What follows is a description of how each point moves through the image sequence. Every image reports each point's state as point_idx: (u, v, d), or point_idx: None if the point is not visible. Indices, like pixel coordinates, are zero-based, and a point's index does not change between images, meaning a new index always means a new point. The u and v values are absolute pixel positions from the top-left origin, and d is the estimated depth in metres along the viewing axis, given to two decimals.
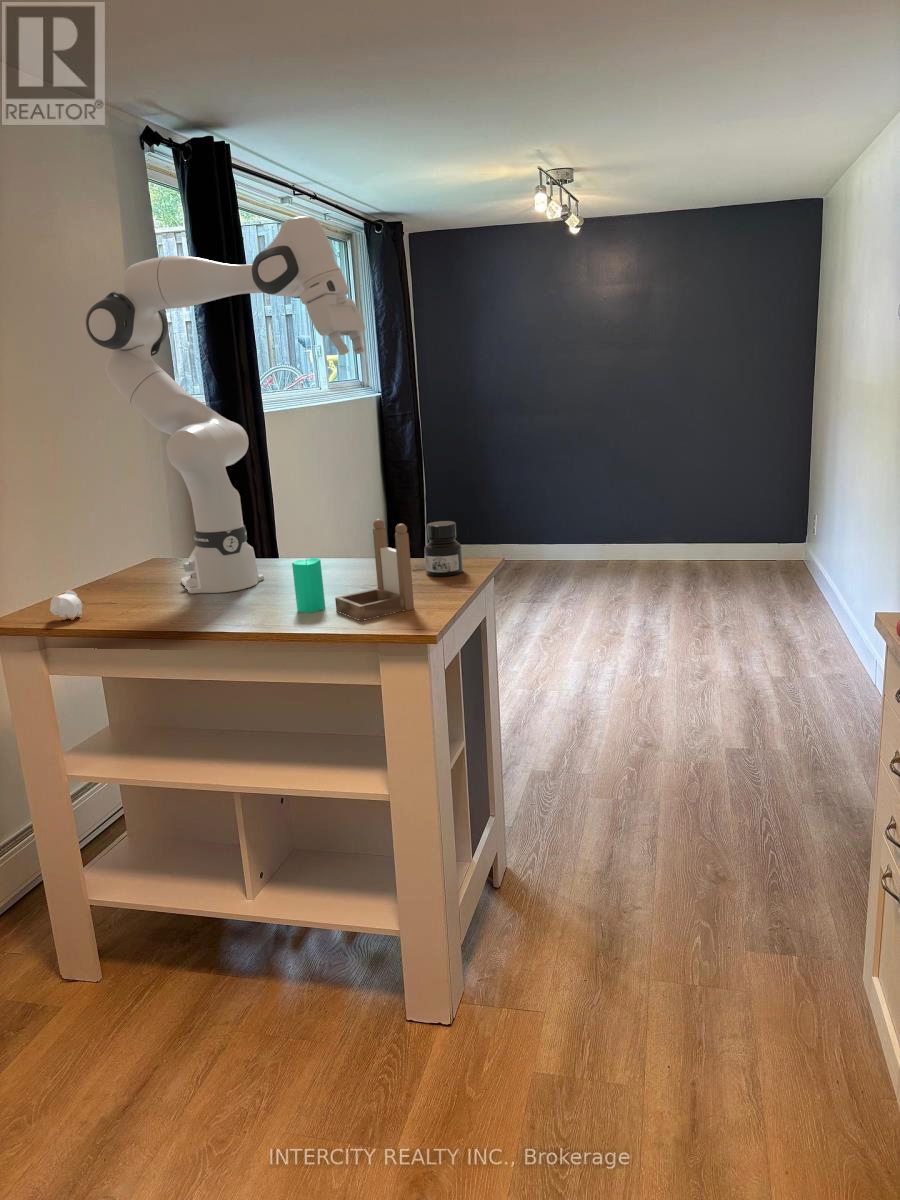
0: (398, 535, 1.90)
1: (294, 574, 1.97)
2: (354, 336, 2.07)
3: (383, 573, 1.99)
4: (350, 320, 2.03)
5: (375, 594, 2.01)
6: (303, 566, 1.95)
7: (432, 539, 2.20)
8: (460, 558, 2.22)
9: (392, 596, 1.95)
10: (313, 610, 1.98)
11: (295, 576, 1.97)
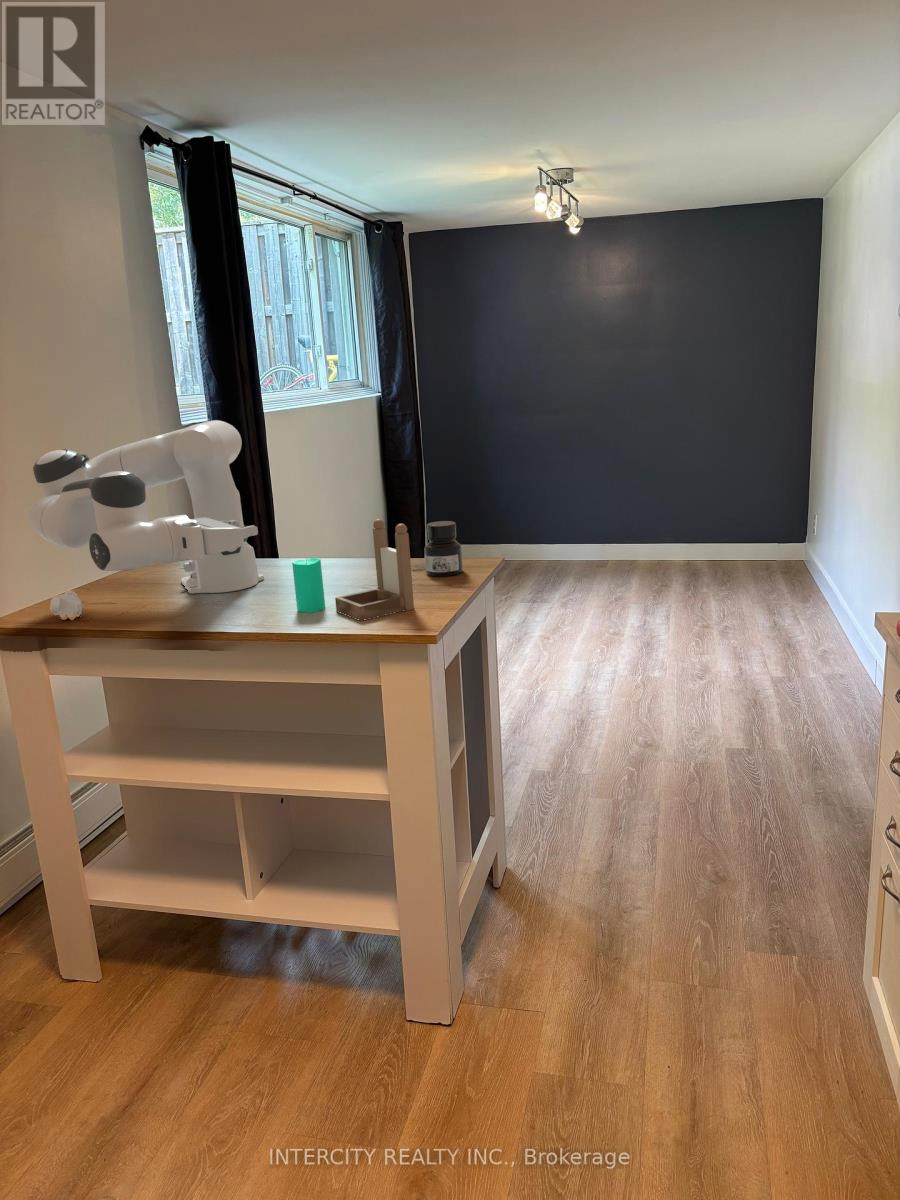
0: (398, 535, 1.90)
1: (294, 574, 1.97)
2: None
3: (383, 573, 1.99)
4: (210, 522, 1.86)
5: (375, 594, 2.01)
6: (303, 566, 1.95)
7: (432, 539, 2.20)
8: (460, 558, 2.22)
9: (392, 596, 1.95)
10: (313, 610, 1.98)
11: (295, 576, 1.97)
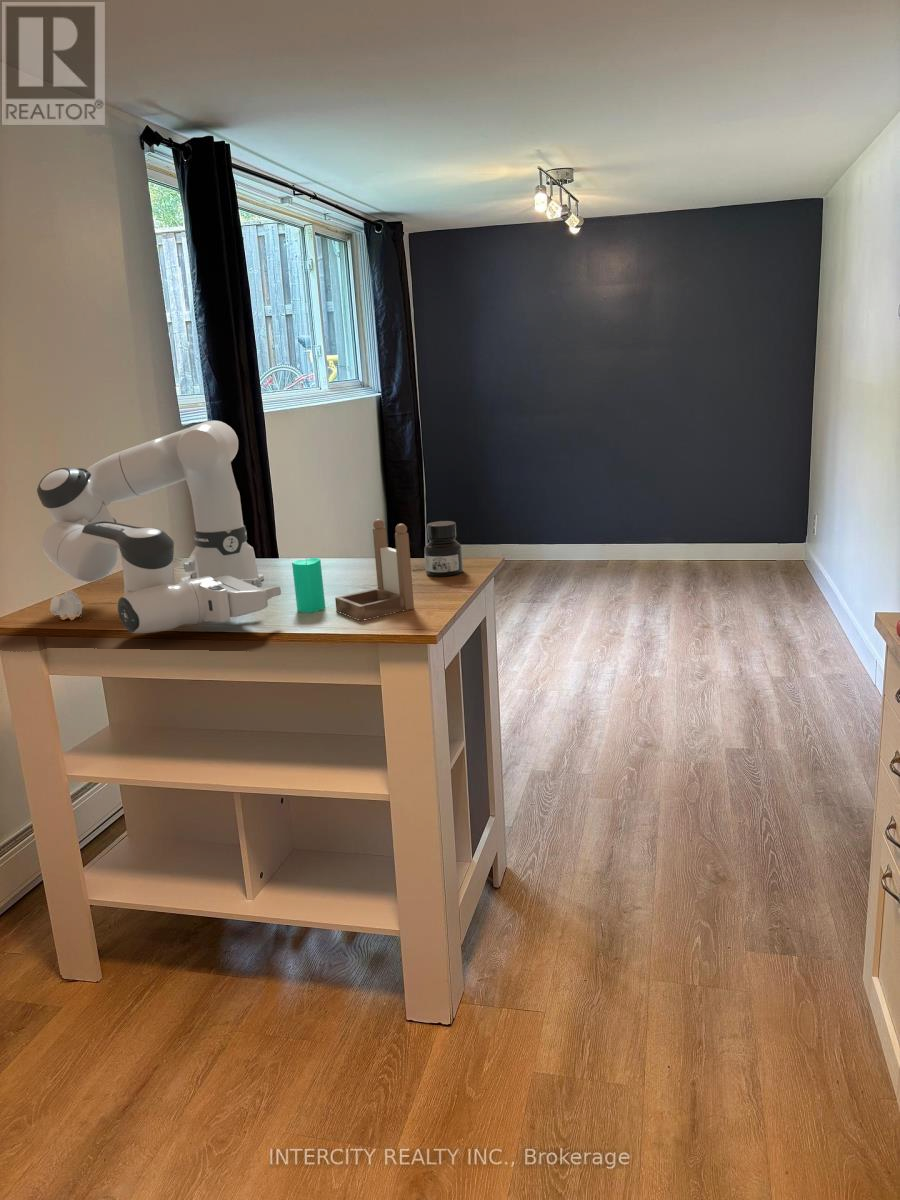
0: (398, 535, 1.90)
1: (294, 574, 1.97)
2: None
3: (383, 573, 1.99)
4: (234, 582, 1.91)
5: (375, 594, 2.01)
6: (303, 566, 1.95)
7: (432, 539, 2.20)
8: (460, 558, 2.22)
9: (392, 596, 1.95)
10: (313, 610, 1.98)
11: (295, 576, 1.97)
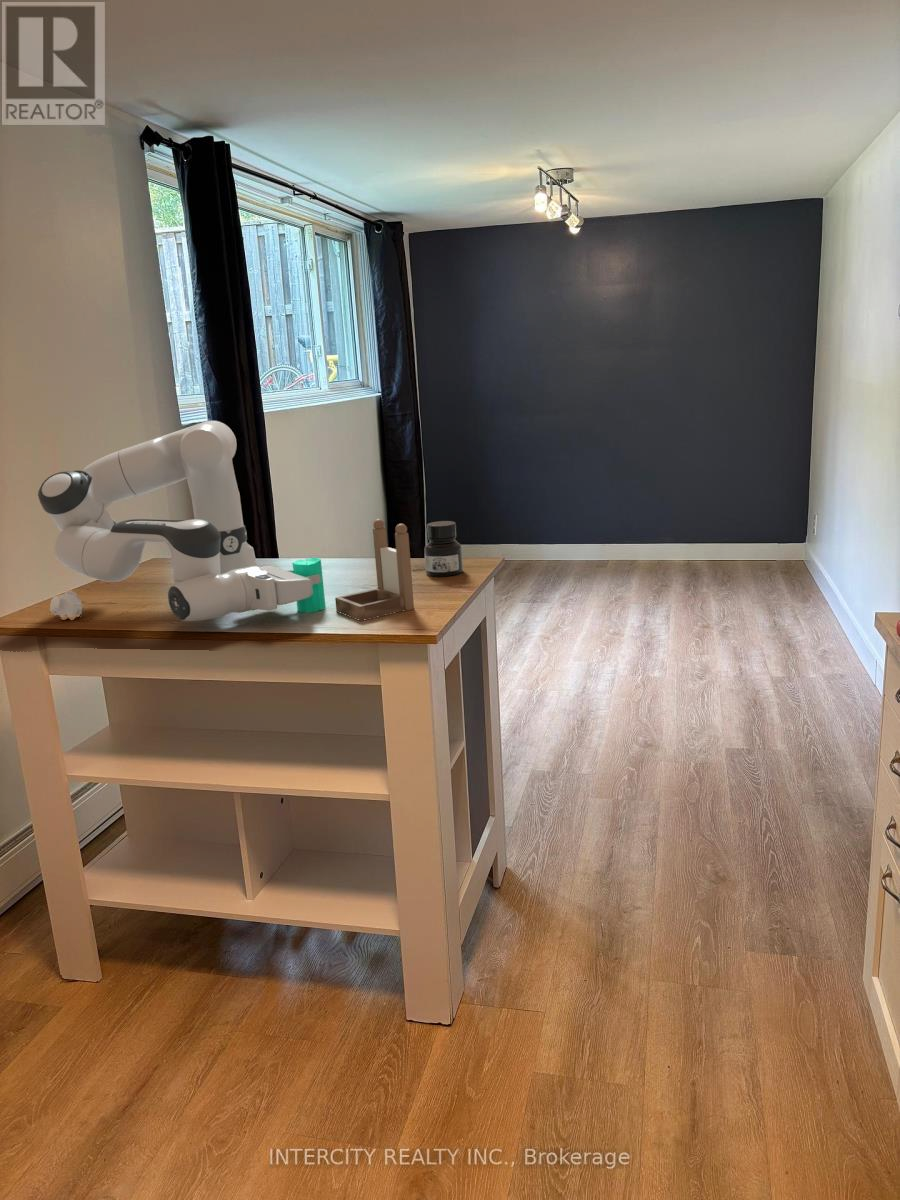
0: (398, 535, 1.90)
1: None
2: None
3: (383, 573, 1.99)
4: (278, 571, 1.97)
5: (375, 594, 2.01)
6: (303, 566, 1.95)
7: (432, 539, 2.20)
8: (460, 558, 2.22)
9: (392, 596, 1.95)
10: (313, 610, 1.98)
11: None
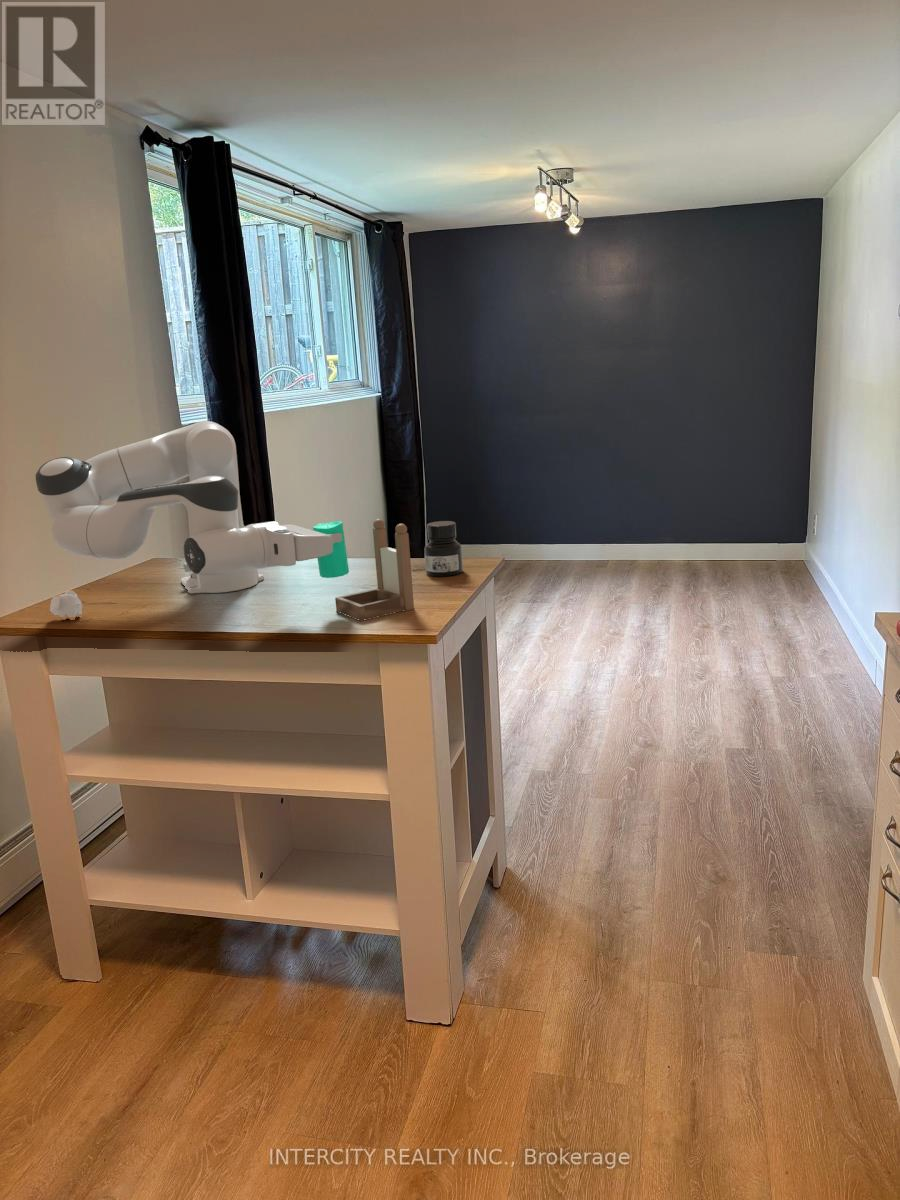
0: (398, 535, 1.90)
1: None
2: None
3: (383, 573, 1.99)
4: (298, 529, 1.90)
5: (375, 594, 2.01)
6: (323, 530, 1.88)
7: (432, 539, 2.20)
8: (460, 558, 2.22)
9: (392, 596, 1.95)
10: (335, 575, 1.91)
11: None
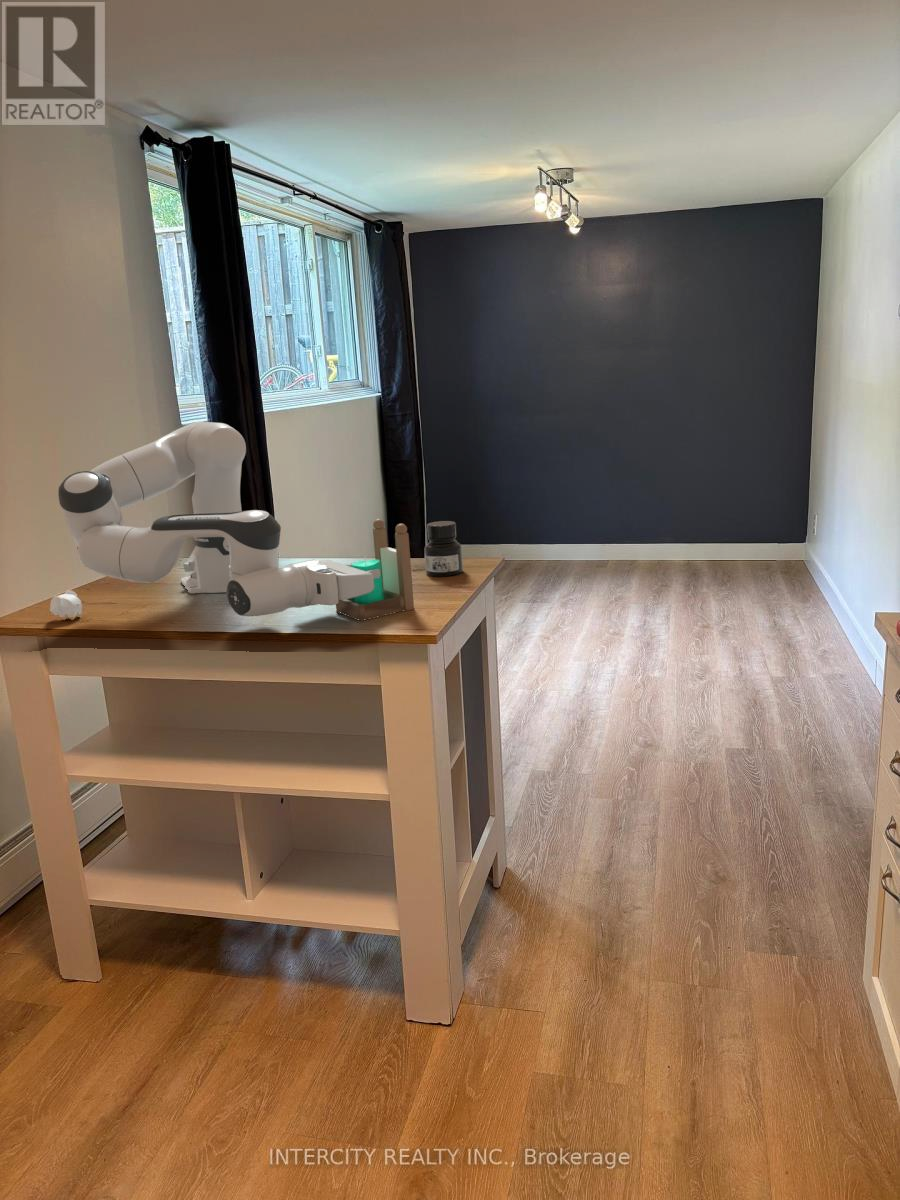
0: (398, 535, 1.90)
1: None
2: None
3: (383, 573, 1.99)
4: (337, 566, 1.91)
5: None
6: (360, 568, 1.90)
7: (432, 539, 2.20)
8: (460, 558, 2.22)
9: (392, 596, 1.95)
10: None
11: None
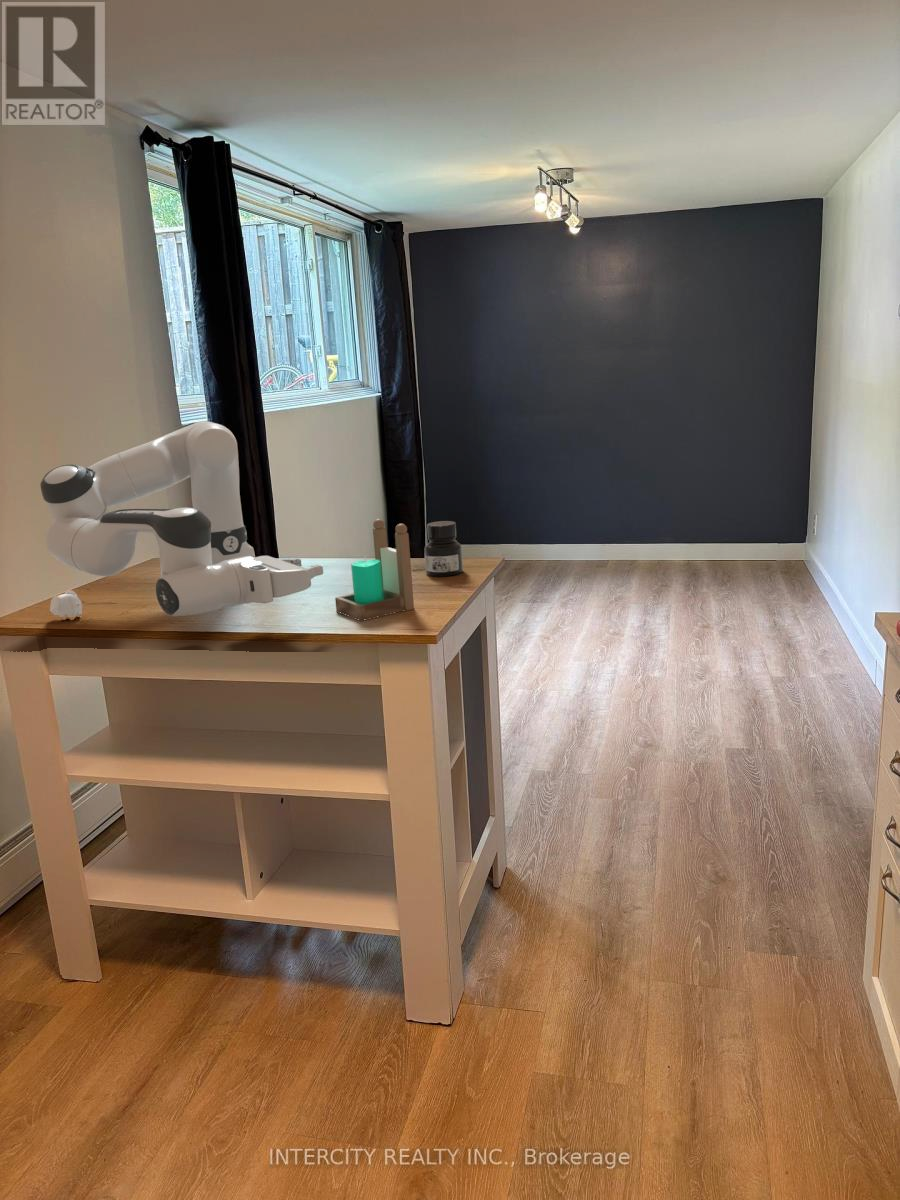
0: (398, 535, 1.90)
1: (352, 575, 1.92)
2: None
3: (383, 573, 1.99)
4: (274, 562, 1.83)
5: None
6: (360, 568, 1.90)
7: (432, 539, 2.20)
8: (460, 558, 2.22)
9: (392, 596, 1.95)
10: None
11: (353, 577, 1.92)
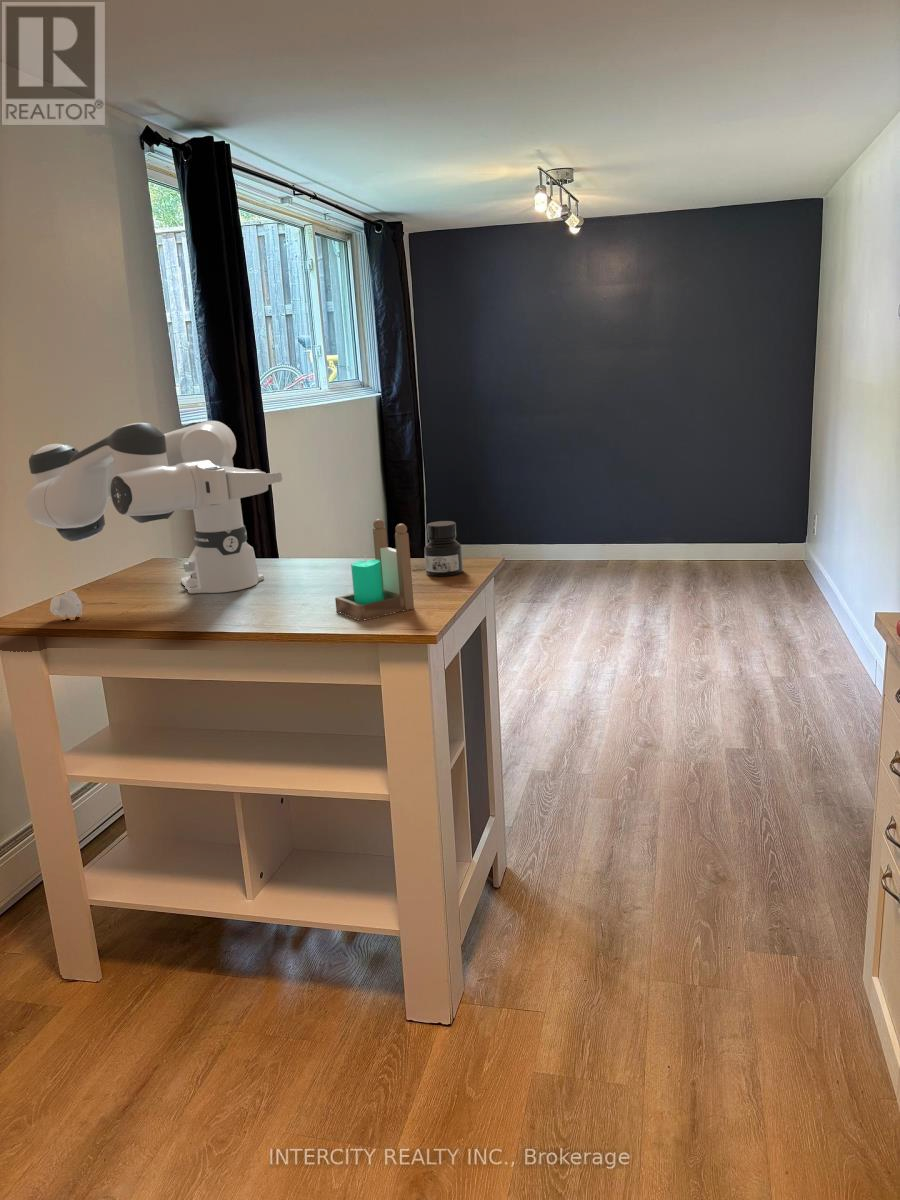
0: (398, 535, 1.90)
1: (352, 575, 1.92)
2: None
3: (383, 573, 1.99)
4: (233, 469, 1.82)
5: None
6: (360, 568, 1.90)
7: (432, 539, 2.20)
8: (460, 558, 2.22)
9: (392, 596, 1.95)
10: None
11: (353, 577, 1.92)
